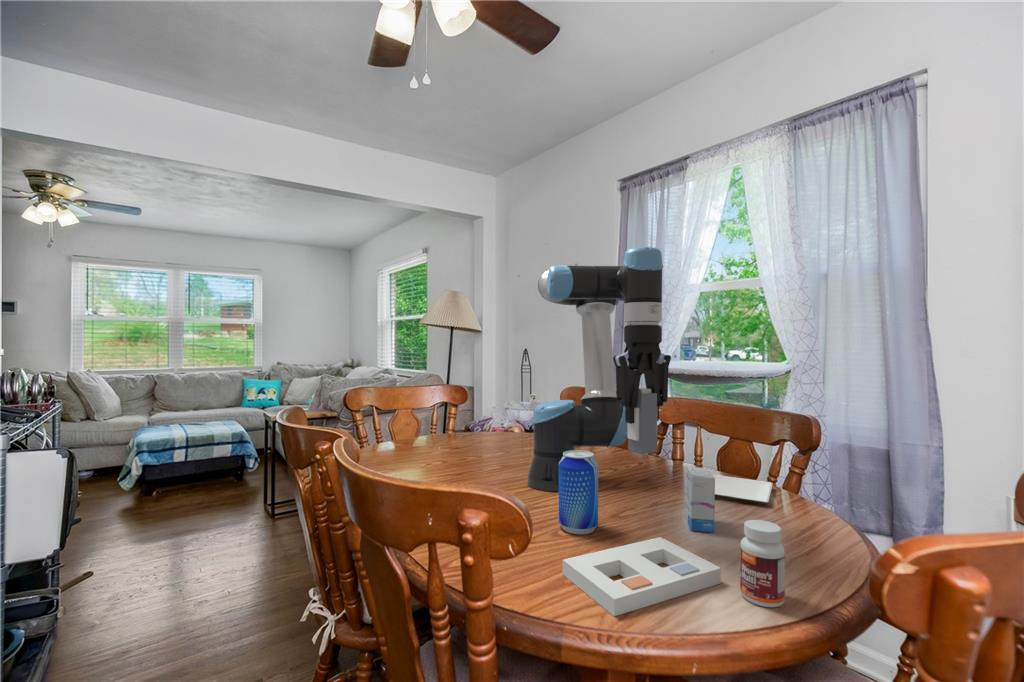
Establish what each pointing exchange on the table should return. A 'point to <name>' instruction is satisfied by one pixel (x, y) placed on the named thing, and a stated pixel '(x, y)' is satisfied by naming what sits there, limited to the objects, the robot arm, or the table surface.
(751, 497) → the plate
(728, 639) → the table surface
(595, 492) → the beer can
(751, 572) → the pill bottle
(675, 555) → the socket board
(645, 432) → the plug
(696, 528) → the ink box
